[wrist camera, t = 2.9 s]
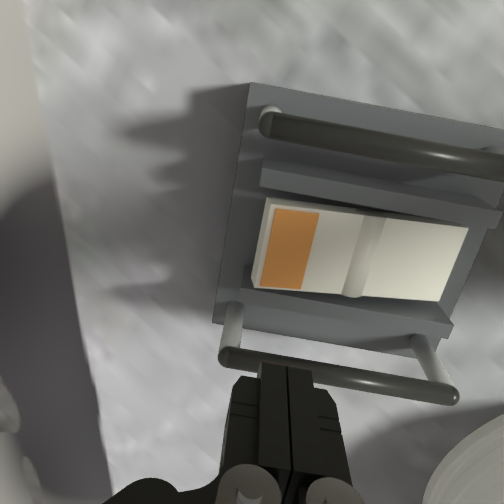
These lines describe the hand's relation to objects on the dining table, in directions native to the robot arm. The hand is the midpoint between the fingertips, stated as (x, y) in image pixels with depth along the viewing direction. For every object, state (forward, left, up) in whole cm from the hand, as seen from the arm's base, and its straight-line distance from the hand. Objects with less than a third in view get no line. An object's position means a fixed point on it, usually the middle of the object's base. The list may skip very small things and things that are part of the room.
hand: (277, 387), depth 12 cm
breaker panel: (-5, 0, -19) cm, 20 cm away
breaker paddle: (-5, 0, -13) cm, 14 cm away
